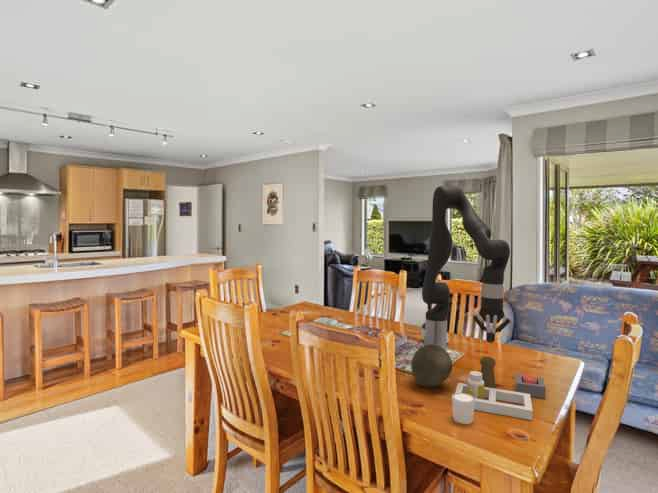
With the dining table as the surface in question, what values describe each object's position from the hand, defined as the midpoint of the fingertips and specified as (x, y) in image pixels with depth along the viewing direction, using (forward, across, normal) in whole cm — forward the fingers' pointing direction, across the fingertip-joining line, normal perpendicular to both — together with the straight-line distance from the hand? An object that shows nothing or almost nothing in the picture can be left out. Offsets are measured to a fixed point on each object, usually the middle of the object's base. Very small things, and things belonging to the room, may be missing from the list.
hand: (490, 342), depth 144 cm
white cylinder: (+16, -7, -29) cm, 34 cm away
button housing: (+16, +14, +1) cm, 21 cm away
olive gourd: (+17, 0, -1) cm, 17 cm away
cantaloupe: (+17, -20, -7) cm, 27 cm away
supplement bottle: (+17, -4, -15) cm, 23 cm away
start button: (+15, +13, +1) cm, 20 cm away
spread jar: (+18, -24, +45) cm, 54 cm away
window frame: (+16, +1, -15) cm, 22 cm away
